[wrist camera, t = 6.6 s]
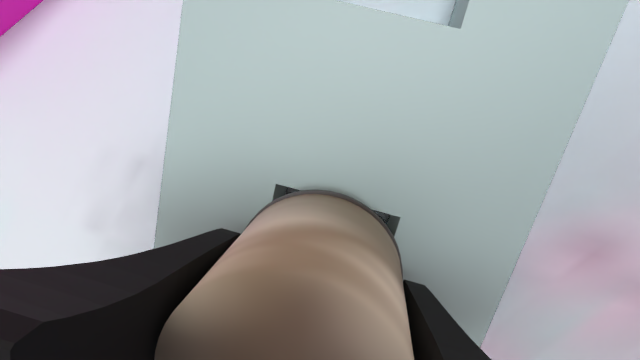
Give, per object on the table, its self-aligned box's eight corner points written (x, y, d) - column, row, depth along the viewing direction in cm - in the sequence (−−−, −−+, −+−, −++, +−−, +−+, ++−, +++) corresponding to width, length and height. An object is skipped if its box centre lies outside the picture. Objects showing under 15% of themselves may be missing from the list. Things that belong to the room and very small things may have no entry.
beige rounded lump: (417, 196, 13) (466, 323, 6) (372, 319, 15) (372, 534, 8) (276, 154, 13) (174, 230, 7) (246, 278, 15) (135, 449, 8)
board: (662, -192, 11) (744, -270, 8) (438, 370, 16) (449, 420, 14) (256, -267, 12) (225, -356, 9) (176, 292, 17) (144, 327, 15)
